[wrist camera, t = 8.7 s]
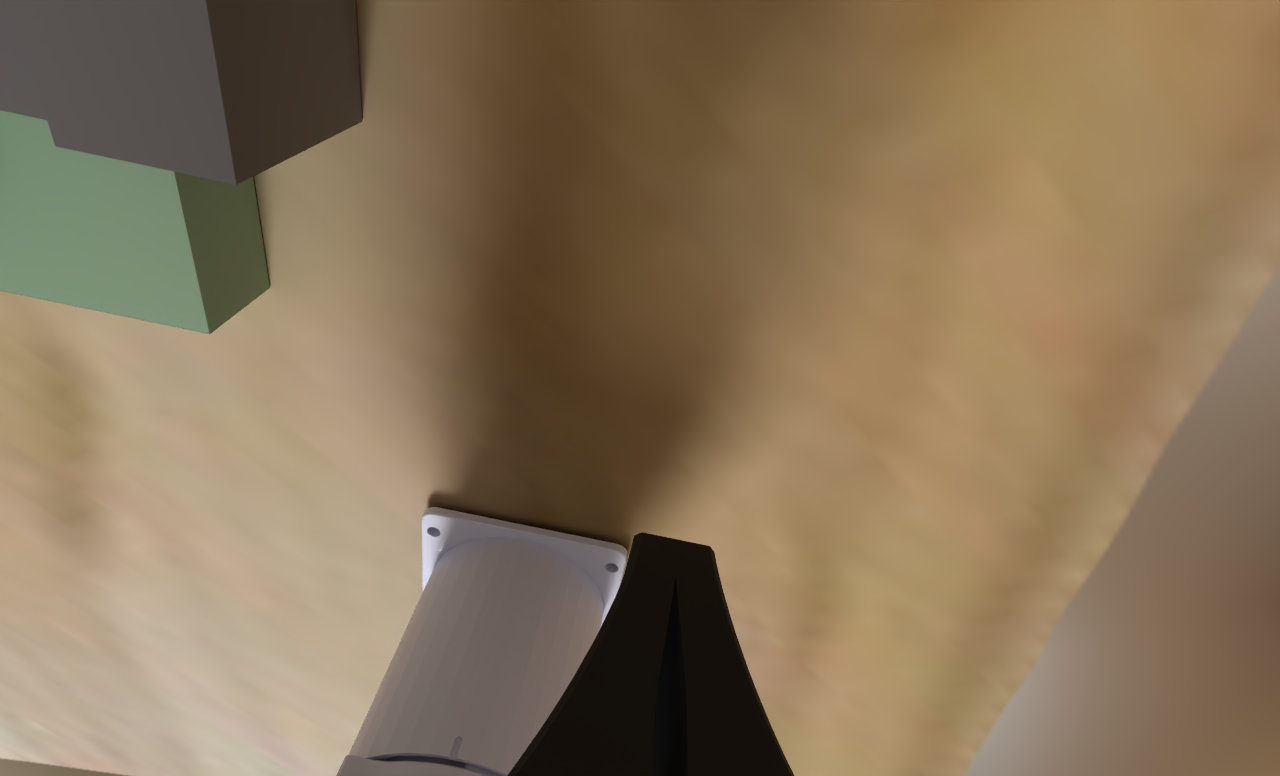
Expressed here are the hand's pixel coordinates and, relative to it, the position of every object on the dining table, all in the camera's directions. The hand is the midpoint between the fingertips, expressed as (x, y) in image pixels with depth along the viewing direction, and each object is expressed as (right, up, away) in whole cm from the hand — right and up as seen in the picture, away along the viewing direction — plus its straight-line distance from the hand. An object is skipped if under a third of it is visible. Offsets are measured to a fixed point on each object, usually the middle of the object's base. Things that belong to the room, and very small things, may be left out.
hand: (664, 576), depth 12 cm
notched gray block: (-11, +13, +5) cm, 18 cm away
